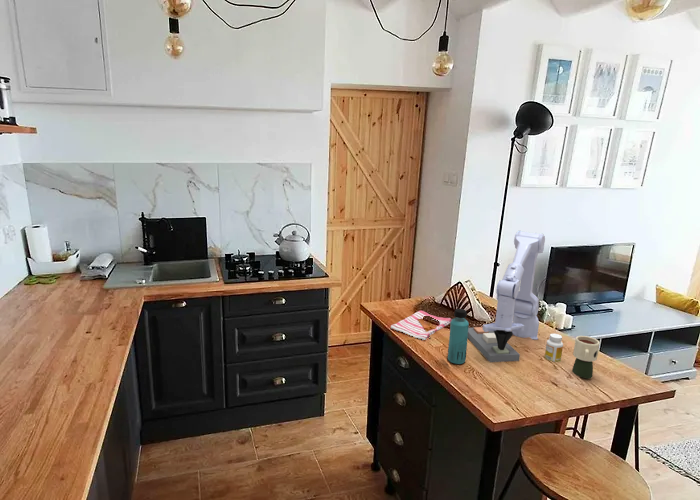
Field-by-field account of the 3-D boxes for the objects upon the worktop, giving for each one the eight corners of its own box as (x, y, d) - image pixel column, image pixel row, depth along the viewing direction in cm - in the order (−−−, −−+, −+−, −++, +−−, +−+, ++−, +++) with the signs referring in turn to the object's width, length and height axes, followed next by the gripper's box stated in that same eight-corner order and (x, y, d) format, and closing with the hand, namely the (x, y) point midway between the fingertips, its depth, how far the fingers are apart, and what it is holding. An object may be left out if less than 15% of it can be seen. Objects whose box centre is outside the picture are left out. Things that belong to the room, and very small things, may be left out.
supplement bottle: (559, 358, 163) (563, 333, 161) (561, 365, 158) (565, 339, 156) (543, 356, 165) (547, 331, 162) (544, 362, 160) (548, 337, 158)
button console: (489, 335, 182) (490, 327, 181) (518, 363, 159) (519, 354, 158) (463, 335, 180) (464, 327, 179) (489, 364, 157) (490, 355, 156)
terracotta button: (483, 333, 180) (483, 327, 179) (487, 338, 176) (488, 331, 175) (473, 334, 179) (473, 327, 178) (477, 338, 175) (478, 331, 174)
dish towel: (452, 325, 192) (453, 317, 191) (424, 343, 174) (425, 334, 173) (418, 315, 202) (419, 307, 201) (388, 330, 185) (389, 322, 184)
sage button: (502, 353, 163) (503, 345, 163) (508, 358, 159) (509, 351, 158) (491, 353, 163) (492, 346, 162) (497, 359, 159) (498, 351, 158)
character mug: (594, 385, 145) (600, 348, 142) (570, 380, 148) (575, 344, 145) (593, 370, 155) (598, 336, 152) (570, 366, 158) (575, 331, 155)
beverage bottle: (455, 369, 153) (460, 315, 148) (442, 361, 159) (447, 308, 154) (469, 365, 156) (474, 312, 151) (457, 357, 162) (461, 305, 157)
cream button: (492, 340, 171) (493, 332, 170) (497, 344, 167) (498, 337, 166) (482, 340, 171) (483, 333, 170) (487, 345, 166) (487, 337, 166)
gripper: (490, 318, 152) (486, 354, 155) (530, 317, 154) (525, 353, 157) (481, 310, 159) (478, 345, 162) (519, 309, 161) (515, 344, 164)
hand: (500, 348), depth 160 cm, fingers closed, pressing on sage button
